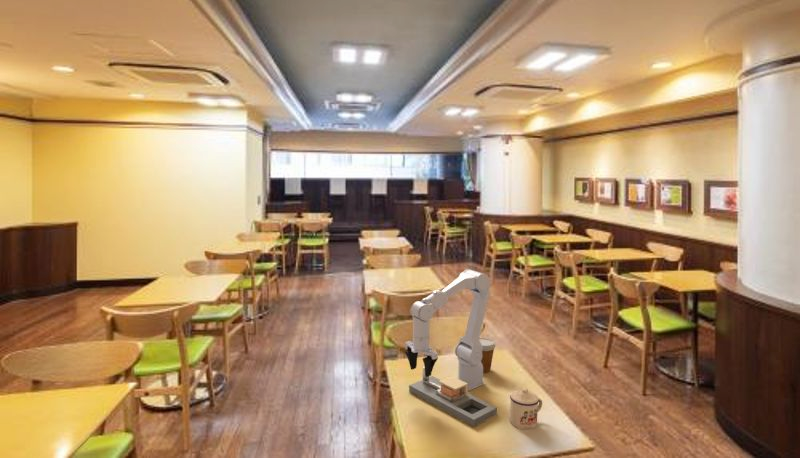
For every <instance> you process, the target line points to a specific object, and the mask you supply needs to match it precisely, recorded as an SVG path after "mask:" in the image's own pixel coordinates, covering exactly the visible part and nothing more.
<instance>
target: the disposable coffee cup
mask: <svg viewBox="0 0 800 458" xmlns="http://www.w3.org/2000/svg"><path fill="white" fill-rule="evenodd" d="M479 341H480V342H481V344H482V346H483V348H482V360H481V363H482V365H483V374H486V373H490V372H491V369H492V368H491V367H492V364H493V363H492V362H493V358H494V351H495V350H494V349H495V347H496V344H495V341H494V340H492V339H491V338H486V337H479Z"/></svg>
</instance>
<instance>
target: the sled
mask: <svg viewBox="0 0 800 458" xmlns="http://www.w3.org/2000/svg"><path fill="white" fill-rule="evenodd" d="M429 377H430V376H428V377H426V376H425V366H424V365H422V382H424V383H426V384H428V385H430V386H432V387H434V388H436V389H438V390H436V394H438V395H440V396H442V397H444V398H446V399H448V400H450V401H452V402H454V401H456V400H458V399H460V398H463V397H465V393H463V392H461V391H460V394H459V395H457V396H454V397H452V398H451V397H449V396H447V395H445V394H443V393H441V386H439V385H437V384H435V383H433V382H431V381H429Z"/></svg>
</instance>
